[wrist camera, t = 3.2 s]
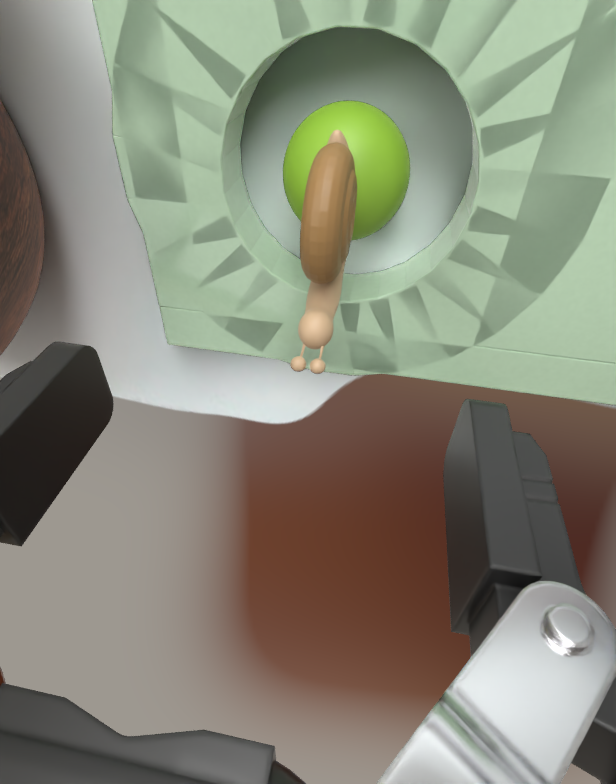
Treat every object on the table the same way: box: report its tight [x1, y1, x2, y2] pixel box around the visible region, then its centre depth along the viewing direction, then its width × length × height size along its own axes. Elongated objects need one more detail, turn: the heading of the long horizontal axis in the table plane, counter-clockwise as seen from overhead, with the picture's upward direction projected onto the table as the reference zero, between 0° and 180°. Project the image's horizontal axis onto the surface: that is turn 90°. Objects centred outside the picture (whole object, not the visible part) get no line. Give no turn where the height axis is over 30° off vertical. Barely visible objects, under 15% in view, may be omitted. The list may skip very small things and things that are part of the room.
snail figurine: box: [283, 101, 410, 374], centre depth 18 cm, size 5×6×12 cm
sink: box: [92, 0, 616, 405], centre depth 20 cm, size 21×32×3 cm, turn 88°
